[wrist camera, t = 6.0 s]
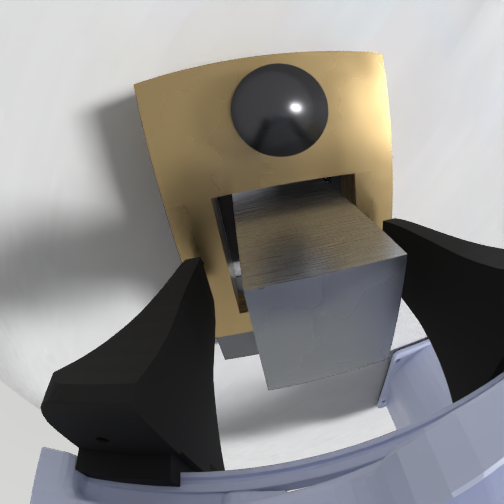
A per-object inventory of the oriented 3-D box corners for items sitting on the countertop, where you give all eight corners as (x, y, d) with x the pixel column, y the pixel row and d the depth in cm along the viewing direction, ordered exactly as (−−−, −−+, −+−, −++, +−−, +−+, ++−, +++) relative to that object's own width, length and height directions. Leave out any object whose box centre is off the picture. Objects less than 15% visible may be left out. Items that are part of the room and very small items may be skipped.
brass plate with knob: (359, 312, 18) (384, 358, 14) (224, 342, 18) (226, 395, 14) (350, 60, 11) (398, 49, 7) (153, 88, 11) (122, 82, 7)
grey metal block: (320, 245, 15) (388, 358, 8) (246, 260, 15) (268, 390, 8) (314, 172, 13) (407, 254, 6) (231, 187, 13) (243, 291, 6)
